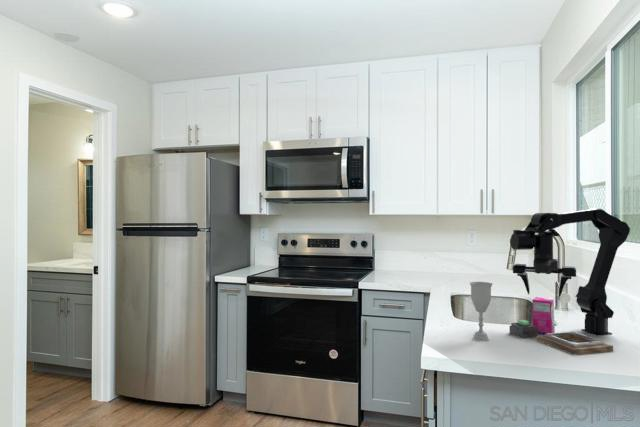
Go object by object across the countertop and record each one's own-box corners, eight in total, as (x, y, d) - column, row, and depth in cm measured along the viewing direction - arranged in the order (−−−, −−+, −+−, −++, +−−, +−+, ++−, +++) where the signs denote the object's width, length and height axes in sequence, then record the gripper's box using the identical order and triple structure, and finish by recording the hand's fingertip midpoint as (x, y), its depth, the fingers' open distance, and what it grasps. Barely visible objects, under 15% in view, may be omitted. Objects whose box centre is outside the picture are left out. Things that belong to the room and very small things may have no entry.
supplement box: (535, 329, 144) (535, 296, 144) (555, 332, 140) (555, 298, 140) (532, 332, 139) (532, 299, 139) (551, 336, 135) (551, 301, 135)
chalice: (484, 344, 126) (484, 286, 126) (464, 339, 132) (464, 283, 132) (497, 340, 130) (497, 283, 131) (478, 335, 136) (478, 281, 136)
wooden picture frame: (572, 337, 134) (572, 329, 134) (613, 351, 120) (613, 342, 120) (537, 340, 130) (537, 332, 130) (574, 354, 117) (574, 346, 117)
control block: (524, 331, 140) (524, 321, 140) (537, 336, 134) (537, 326, 134) (509, 333, 138) (509, 322, 138) (522, 338, 133) (522, 327, 133)
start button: (524, 323, 138) (524, 319, 138) (531, 325, 135) (531, 322, 135) (515, 323, 137) (515, 320, 137) (522, 326, 134) (522, 322, 134)
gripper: (510, 250, 137) (511, 296, 137) (576, 252, 128) (577, 302, 128) (514, 248, 147) (514, 291, 147) (575, 249, 137) (575, 296, 137)
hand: (543, 295), depth 139 cm, fingers open, 9 cm apart
